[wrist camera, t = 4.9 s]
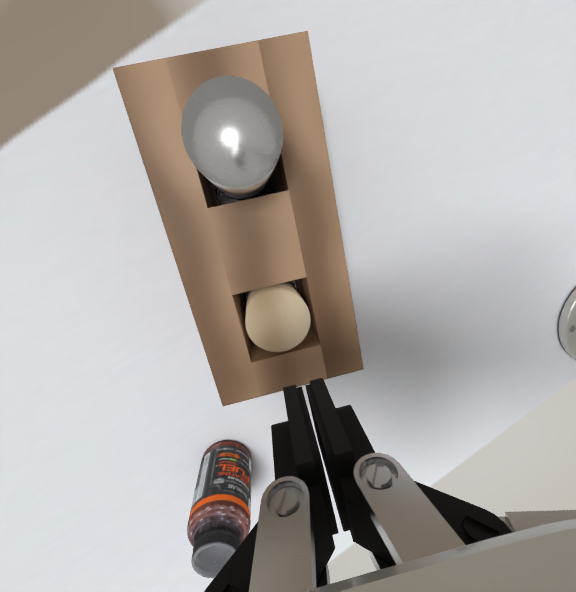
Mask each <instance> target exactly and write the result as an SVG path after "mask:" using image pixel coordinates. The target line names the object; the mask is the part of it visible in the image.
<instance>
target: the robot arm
mask: <svg viewBox="0 0 576 592" xmlns="http://www.w3.org/2000/svg"><path fill="white" fill-rule="evenodd" d="M559 337H560V341H561V344H562V346H563V348H564V349H565V351H566V352H567V353H568V354H569V355H570V356H572V357H574V358H576V289H575V290H574V291H573V292H572V294H571V295H570V297H569V298H568V300H567V301H566V303H565V305H564V308H563V310H562V313H561V316H560V320H559ZM306 390H307V394H308V399H309V403H310V407H311V412H312V416H313V420H314V425H315V429H316V433H317V438H318V442H319V446H320V449H321V453H322V456H323V460H324V463H325V467H326V471H327V474H328V478H329V481H330V485H331V488H332V492H333V495H334V499H335V502H336V506H337V510H338V513H339V517H340V520H341V524H342V527H343V531H348V530H350V532H351V535H352V538H353V542H356V543H357V544H359V545H361V546H362V547H364V548H366V549H367V550H369V553H370V557H371V560H372V562H373V564H374V566H375V568H376V570H377V571H374V572H370V573H367V574H364V575H360V576H357V577H353V578H350V579H346V580H343V581H340V582H336V583H332V584H330V578H329V570H328V565H327V563H328V561H329V559H330V557H331V555H332V554H333V552H334V550H335V545H334V541H333V537H332V535H334V534H337V533H338V528H337V524H336V520H335V515H334V511H333V507H332V502H331V498H330V494H329V490H328V485H327V481H326V477H325V472H324V468H323V464H322V460H321V456H320V452H319V448H318V445H317V441H316V437H315V434H314V430H313V426H312V423H311V419H310V416H309V412H308V408H307V405H306V401H305V397H304V394H303V390H302V387H298V388H296V384H295V385H291V386H287V387H283V391H284V397H285V403H286V410H287V416H288V421H286V422H282V423H278V424H274V425H272V426H271V431H272V444H273V457H274V471H275V481H273V482H272V483H271V484H270V485H269V486H268V487H267V488H266V490H265V492H264V493H263V496H262V499H261V505H260V513H259V520H258V522H257V524H256V525H255V526H254V527H253V529H252V530H251V531H250V533H249V534H248V535H247V537H246V538H245V539H244V540H243V542H242V543H241V544H240V546H239V547H238V548H237V550H236V551H235V552H234V553H233V555H232V556H231V557H230V559H229V560H228V561H227V562H226V564H225V565H224V566H223V568H222V569H221V570H220V572H219V573H218V574H217V575H216V577H215V578H214V579H213V581H212V582H211V583H210V585H209V586H208V587H207V588H206V590H205V592H576V510H561V511H526V512H505V517H497V516H496V515H495V514H493V513H491V512H489V511H487V510H485V509H483V508H480V507H478V506H475V505H473V504H470V503H468V502H465V501H463V500H460V499H458V498H455V497H453V496H450V495H448V494H445V493H443V492H440V491H438V490H435V489H433V488H430V487H428V486H426V485H423V484H421V483H418V482H416V481H413V479H412V478H411V477H410V476H409V475H408V473H407V472H406V471H405V470H404V468H403V467H402V466H401V465H400V463H399V462H397V461H396V460H395V459H394V458H393V457H391V456H389V455H386V454H382V453H375V451H374V450H373V448H372V446H371V444H370V442H369V440H368V438H367V436H366V434H365V432H364V430H363V428H362V426H361V424H360V422H359V420H358V418H357V416H356V414H355V412H354V411H353V409H352V407H351V405H347V406H343V407H340V408H335V406H334V404H333V401H332V399H331V397H330V394H329V392H328V389H327V387H326V385H325V382H324V380H323V378H318V379H314V380H311V381H310V385H306Z"/></svg>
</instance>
